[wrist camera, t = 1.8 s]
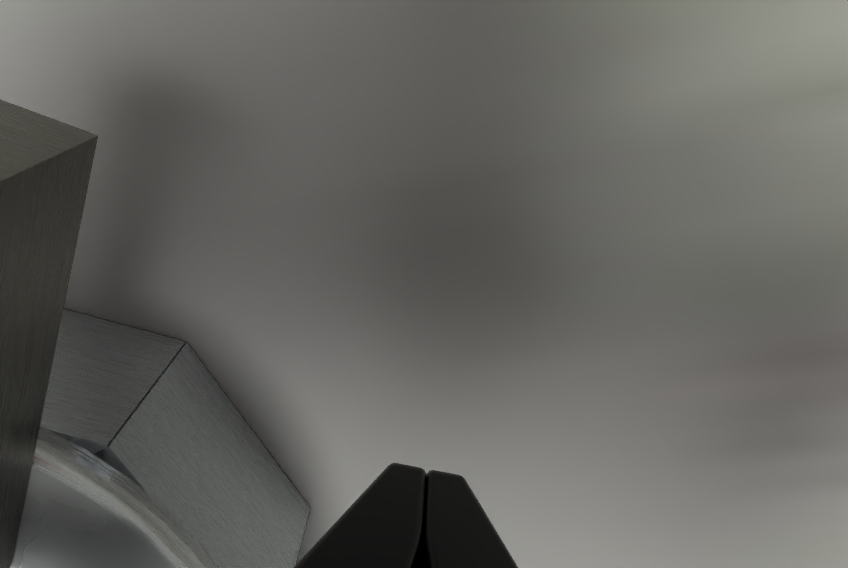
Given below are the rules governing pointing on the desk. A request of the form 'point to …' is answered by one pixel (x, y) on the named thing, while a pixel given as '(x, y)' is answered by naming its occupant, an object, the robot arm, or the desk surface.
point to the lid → (31, 367)
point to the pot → (173, 439)
